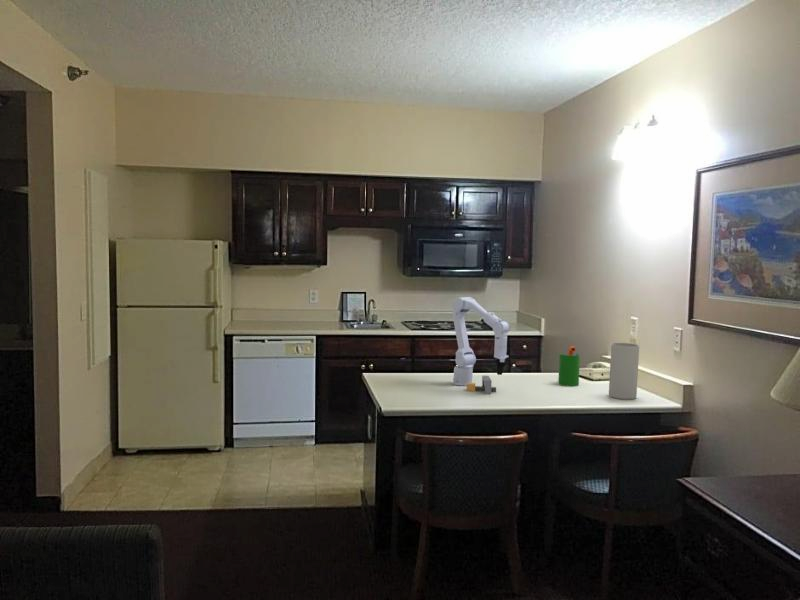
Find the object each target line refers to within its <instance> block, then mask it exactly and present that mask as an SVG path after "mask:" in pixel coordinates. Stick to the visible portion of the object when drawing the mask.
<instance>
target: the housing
mask: <svg viewBox="0 0 800 600" xmlns="http://www.w3.org/2000/svg"><path fill="white" fill-rule="evenodd" d="M481 378H482V379H481V380H482V381H481V386H484V392H483V393H484V394H485V395H492V392H491V387H492V382H493V381H492V379H491V377H490V375H482V376H481Z"/></svg>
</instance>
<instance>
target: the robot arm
mask: <svg viewBox="0 0 800 600" xmlns="http://www.w3.org/2000/svg"><path fill="white" fill-rule="evenodd" d="M452 307H453V308H452V320H453V324H454V330H455V331H454V332H455V335H456V341H457V343H456V344H457V348H458V349H457V351H455V364H456V366H454V368H453V379H452V381H453V384H454V385H453V386H465V387H467V382H471V383H473V374H474V373H473V371H474V370H473V369H474V365H475V364H476V362H477V357H476V355H475V353H474V350H473V349H472V348H471V347H470V343H469V342H470V341H469V337H468V331H467V327H466V321H465V315H466V314H467V313H468V312H469V311H470V310H471V311H473V312H475V313H476V314H477V315H479V316H480V317H482V318H483V322H484V323H485V324H487V325H488V326H489V327H490V328H492V331H493V332H494V350H493V351H494V353H493V354H494V355H493V358H495V359H493V361H494V364H495V369H496V374H497V376H502V375H503V373H504V368H505V365H506V364H507V358H509V354H508V355H507V349H508V347H507V345H508V333H509V332H510V329H511V326H510V323H509V322H508V321H507V320H502V318H499V317H498V316H497V315H495V312H492V311H487V310H486V309H485V308H483V307H482V305H480V303H478V302H477V300H476V299H474V298H473V297H472V296H461V297H458V296H457V297H456V298H454V300H453V302H452Z"/></svg>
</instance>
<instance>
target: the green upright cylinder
mask: <svg viewBox="0 0 800 600" xmlns="http://www.w3.org/2000/svg"><path fill="white" fill-rule="evenodd" d="M574 352H576V346H569V347H568V354H562V353H558V354H559V356H558V358H559V360H558V378H557V379H558V381H557V382H558V385H560V386H565V387H579V385H580V361H581V354H579V353H575V354H574Z"/></svg>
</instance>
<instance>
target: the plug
mask: <svg viewBox="0 0 800 600" xmlns="http://www.w3.org/2000/svg"><path fill="white" fill-rule="evenodd" d="M466 392H482V393H484V386H482V385H481V386H480V385H476V382H472V383H471V382H467V386H466ZM496 392H497V386H491V393H496Z"/></svg>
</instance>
